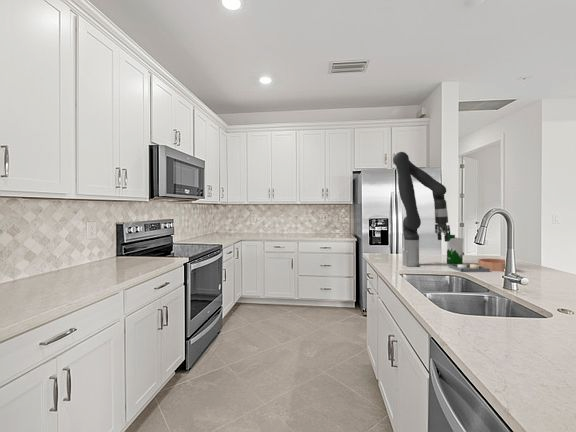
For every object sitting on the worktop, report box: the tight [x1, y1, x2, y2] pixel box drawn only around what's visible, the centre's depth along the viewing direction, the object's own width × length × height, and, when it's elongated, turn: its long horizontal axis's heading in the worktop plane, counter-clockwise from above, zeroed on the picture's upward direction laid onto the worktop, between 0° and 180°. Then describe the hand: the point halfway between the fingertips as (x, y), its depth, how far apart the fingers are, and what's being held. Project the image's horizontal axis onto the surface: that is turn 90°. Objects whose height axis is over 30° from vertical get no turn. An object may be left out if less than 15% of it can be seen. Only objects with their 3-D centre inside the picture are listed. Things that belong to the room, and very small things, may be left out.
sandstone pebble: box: [470, 263, 479, 269], centre depth 189 cm, size 5×5×3 cm
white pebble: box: [456, 263, 467, 269], centre depth 189 cm, size 5×5×3 cm
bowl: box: [477, 258, 506, 273], centre depth 191 cm, size 18×18×6 cm
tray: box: [448, 263, 491, 273], centre depth 189 cm, size 16×14×2 cm
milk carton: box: [446, 234, 464, 265], centre depth 209 cm, size 9×9×20 cm
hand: (443, 240), depth 202 cm, fingers open, 8 cm apart
